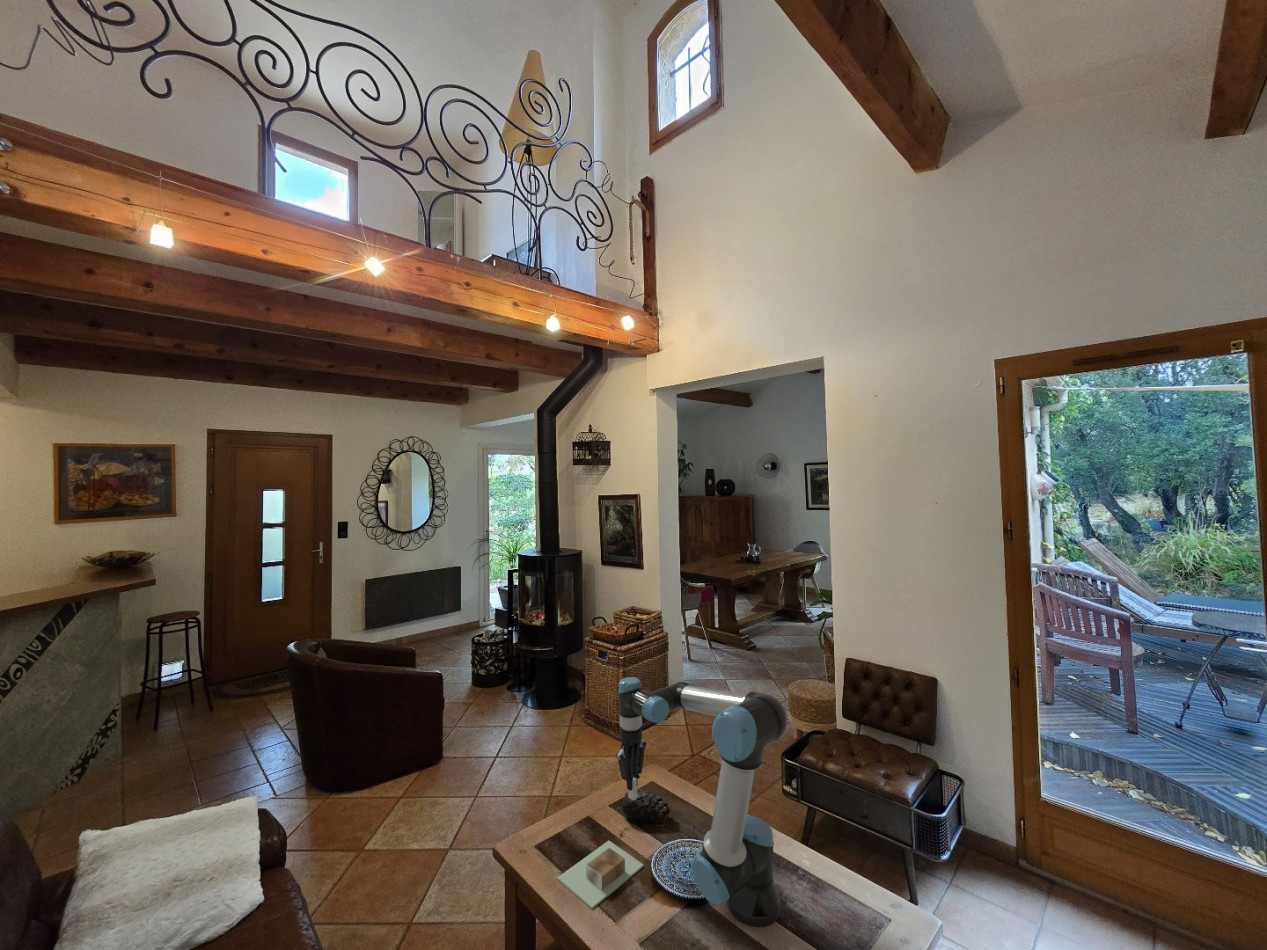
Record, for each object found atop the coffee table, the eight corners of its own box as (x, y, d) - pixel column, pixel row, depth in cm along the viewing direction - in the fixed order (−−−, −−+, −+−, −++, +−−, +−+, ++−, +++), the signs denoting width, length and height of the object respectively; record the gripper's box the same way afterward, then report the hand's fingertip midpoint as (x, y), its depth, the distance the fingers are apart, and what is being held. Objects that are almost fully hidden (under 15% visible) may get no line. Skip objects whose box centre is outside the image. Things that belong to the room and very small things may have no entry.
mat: (643, 866, 160) (643, 864, 160) (591, 909, 144) (591, 907, 144) (608, 842, 171) (608, 840, 171) (557, 879, 155) (557, 877, 155)
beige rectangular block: (624, 858, 157) (601, 877, 150) (624, 871, 157) (601, 890, 150) (609, 847, 162) (585, 864, 155) (609, 860, 162) (586, 878, 155)
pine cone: (670, 829, 177) (669, 800, 178) (620, 826, 179) (619, 797, 180) (671, 810, 188) (670, 783, 188) (623, 807, 190) (623, 780, 190)
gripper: (635, 716, 176) (637, 785, 175) (609, 729, 166) (610, 802, 166) (652, 722, 171) (653, 793, 170) (625, 736, 161) (627, 812, 160)
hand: (632, 798), depth 168 cm, fingers closed
